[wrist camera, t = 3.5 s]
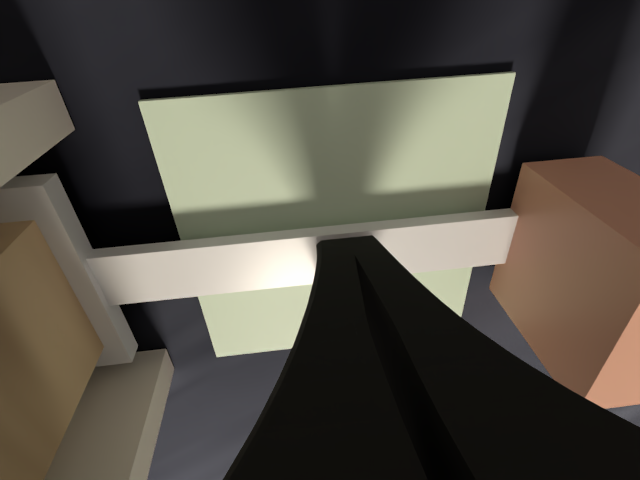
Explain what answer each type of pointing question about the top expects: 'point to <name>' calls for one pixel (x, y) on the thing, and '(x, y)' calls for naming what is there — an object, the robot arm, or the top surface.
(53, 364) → the block
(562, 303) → the cream and orange bar
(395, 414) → the robot arm
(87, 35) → the top surface
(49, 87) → the tunnel
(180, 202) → the pad
